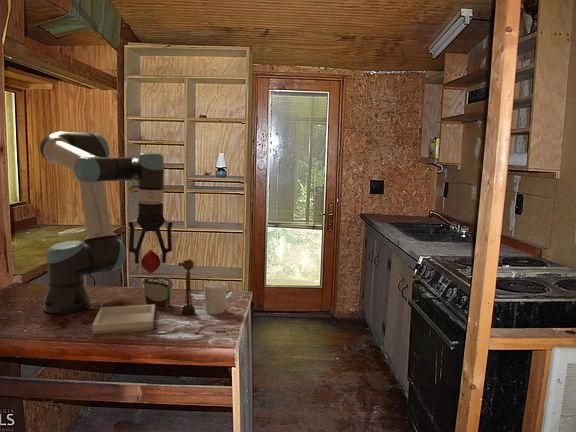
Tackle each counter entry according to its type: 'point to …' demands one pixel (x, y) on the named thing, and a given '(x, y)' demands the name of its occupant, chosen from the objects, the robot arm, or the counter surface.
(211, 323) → the counter surface
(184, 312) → the wooden tabletop sculpture
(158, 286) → the food container
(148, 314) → the tray
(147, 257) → the onion
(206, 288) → the white cup
